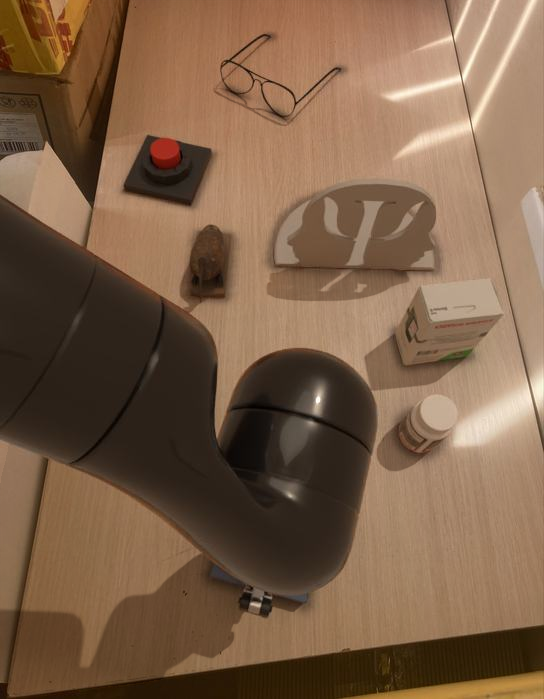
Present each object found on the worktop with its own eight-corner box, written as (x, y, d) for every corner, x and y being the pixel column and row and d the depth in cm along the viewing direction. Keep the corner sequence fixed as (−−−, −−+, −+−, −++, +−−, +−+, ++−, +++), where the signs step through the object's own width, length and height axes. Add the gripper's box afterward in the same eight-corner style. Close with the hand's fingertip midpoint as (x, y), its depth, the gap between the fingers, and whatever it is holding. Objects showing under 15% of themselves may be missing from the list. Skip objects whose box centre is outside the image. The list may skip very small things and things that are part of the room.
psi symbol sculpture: (273, 267, 73) (278, 180, 57) (274, 190, 78) (279, 92, 63) (435, 272, 73) (482, 187, 58) (424, 195, 79) (465, 99, 63)
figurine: (222, 326, 69) (218, 291, 61) (187, 324, 69) (178, 288, 61) (230, 236, 74) (228, 193, 67) (198, 234, 74) (191, 191, 67)
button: (148, 166, 76) (146, 155, 74) (158, 146, 78) (155, 135, 76) (175, 172, 76) (173, 161, 74) (184, 151, 77) (182, 140, 75)
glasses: (218, 86, 87) (218, 56, 82) (268, 46, 94) (271, 16, 89) (293, 123, 84) (297, 94, 79) (339, 79, 91) (345, 50, 86)
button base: (124, 190, 77) (120, 175, 75) (148, 140, 81) (144, 124, 79) (191, 205, 76) (189, 191, 74) (211, 154, 81) (210, 139, 78)
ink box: (457, 323, 70) (494, 274, 59) (468, 358, 68) (508, 314, 57) (393, 331, 69) (418, 283, 58) (402, 367, 67) (430, 323, 56)
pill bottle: (438, 417, 64) (462, 393, 57) (437, 456, 62) (462, 436, 55) (398, 411, 65) (417, 387, 57) (396, 450, 63) (416, 429, 55)
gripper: (253, 412, 43) (254, 459, 57) (198, 604, 37) (215, 602, 51) (345, 435, 42) (322, 477, 57) (305, 635, 36) (291, 623, 51)
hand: (271, 536), depth 54 cm, fingers open, 8 cm apart
